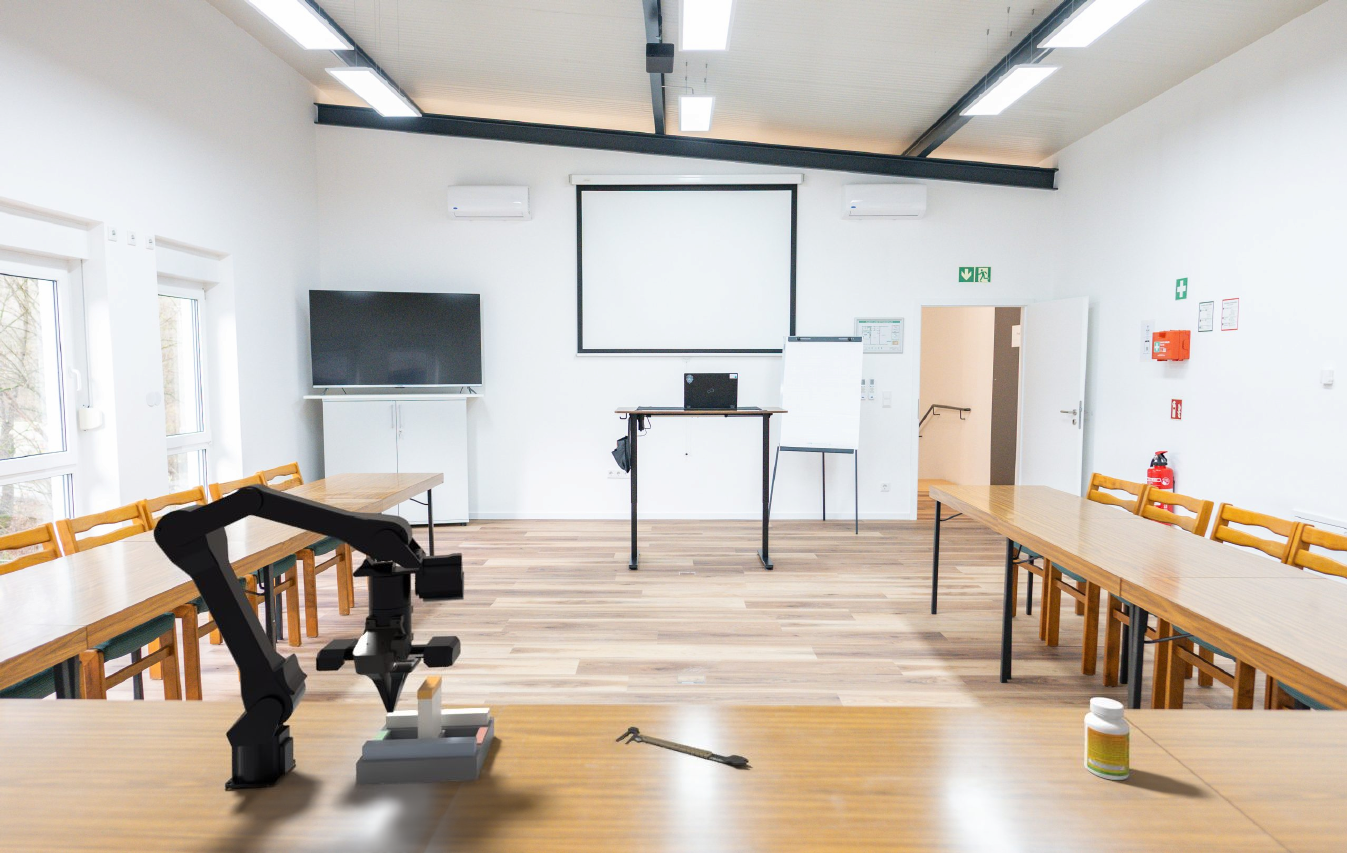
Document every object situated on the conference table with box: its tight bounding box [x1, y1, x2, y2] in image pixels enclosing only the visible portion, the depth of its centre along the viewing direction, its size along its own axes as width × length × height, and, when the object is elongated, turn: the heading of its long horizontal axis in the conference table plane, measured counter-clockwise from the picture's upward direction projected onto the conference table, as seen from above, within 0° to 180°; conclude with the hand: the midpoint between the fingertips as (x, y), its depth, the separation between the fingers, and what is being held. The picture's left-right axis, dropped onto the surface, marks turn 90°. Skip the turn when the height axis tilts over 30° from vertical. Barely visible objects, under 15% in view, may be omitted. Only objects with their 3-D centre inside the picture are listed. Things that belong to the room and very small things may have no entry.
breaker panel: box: [355, 707, 495, 786], centre depth 99 cm, size 16×13×5 cm
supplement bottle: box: [1083, 696, 1130, 781], centre depth 96 cm, size 5×5×10 cm
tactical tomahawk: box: [615, 726, 749, 766], centre depth 100 cm, size 21×7×1 cm, turn 59°
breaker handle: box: [416, 675, 445, 739], centre depth 99 cm, size 3×5×9 cm, turn 5°
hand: (391, 711), depth 98 cm, fingers closed
